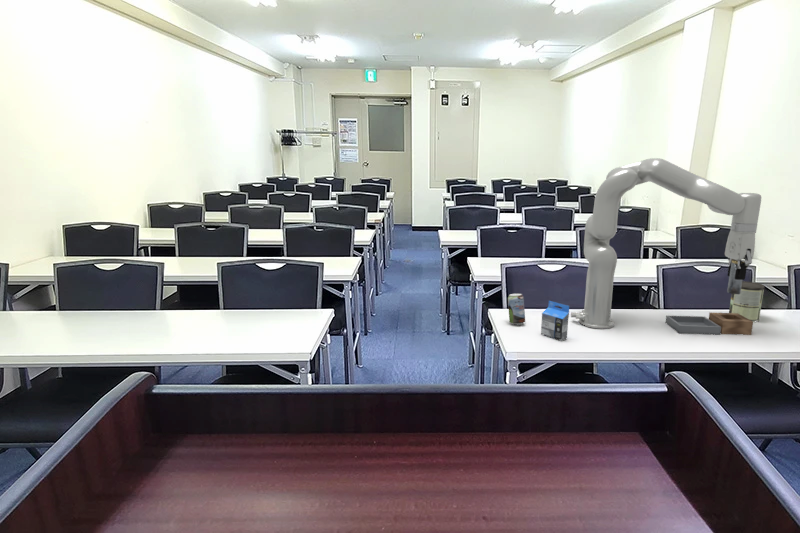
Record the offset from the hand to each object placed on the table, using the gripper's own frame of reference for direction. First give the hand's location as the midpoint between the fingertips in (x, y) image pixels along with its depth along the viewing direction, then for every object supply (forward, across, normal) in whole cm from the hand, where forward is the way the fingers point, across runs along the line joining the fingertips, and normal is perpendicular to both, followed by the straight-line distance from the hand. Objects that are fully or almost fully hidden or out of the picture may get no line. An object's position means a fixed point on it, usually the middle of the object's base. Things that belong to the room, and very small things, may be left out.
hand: (736, 277), depth 173 cm
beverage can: (+21, +1, -78) cm, 80 cm away
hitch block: (+20, 0, 0) cm, 20 cm away
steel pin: (+6, 0, 0) cm, 6 cm away
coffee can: (+20, -15, +13) cm, 29 cm away
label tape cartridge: (+21, +14, -66) cm, 70 cm away
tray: (+20, 0, -13) cm, 24 cm away
